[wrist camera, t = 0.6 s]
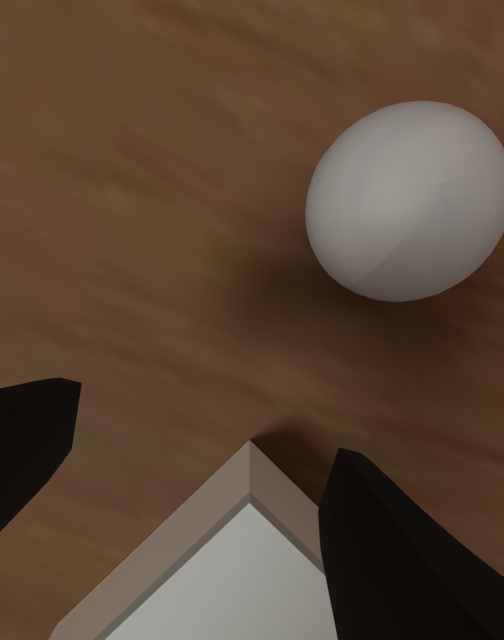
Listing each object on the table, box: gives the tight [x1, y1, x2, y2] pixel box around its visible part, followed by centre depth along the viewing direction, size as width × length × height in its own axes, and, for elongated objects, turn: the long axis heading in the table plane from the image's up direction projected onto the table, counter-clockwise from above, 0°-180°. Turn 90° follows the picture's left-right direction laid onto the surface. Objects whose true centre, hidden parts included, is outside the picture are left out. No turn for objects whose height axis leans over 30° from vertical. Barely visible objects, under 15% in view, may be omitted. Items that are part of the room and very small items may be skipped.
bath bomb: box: [305, 101, 504, 302], centre depth 15 cm, size 8×8×8 cm
